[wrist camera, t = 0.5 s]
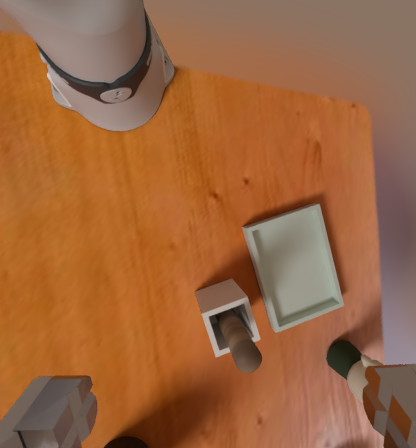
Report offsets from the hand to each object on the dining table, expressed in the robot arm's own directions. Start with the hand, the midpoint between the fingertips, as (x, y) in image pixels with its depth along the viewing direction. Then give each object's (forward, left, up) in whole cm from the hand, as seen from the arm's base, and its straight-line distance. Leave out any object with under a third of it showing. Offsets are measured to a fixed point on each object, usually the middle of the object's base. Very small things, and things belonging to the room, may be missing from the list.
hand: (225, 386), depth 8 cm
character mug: (+34, +23, -38) cm, 56 cm away
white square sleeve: (+15, +3, -38) cm, 41 cm away
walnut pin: (+15, +3, -37) cm, 40 cm away
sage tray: (+13, +18, -38) cm, 44 cm away
